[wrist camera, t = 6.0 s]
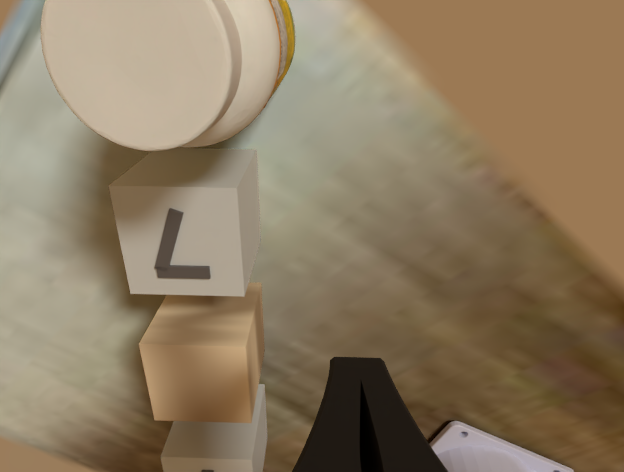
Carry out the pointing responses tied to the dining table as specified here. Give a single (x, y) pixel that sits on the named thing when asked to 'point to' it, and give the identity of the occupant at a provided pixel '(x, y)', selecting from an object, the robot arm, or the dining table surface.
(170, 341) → the plain block
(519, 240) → the dining table surface
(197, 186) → the marked block 7
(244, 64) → the supplement bottle
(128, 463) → the dining table surface
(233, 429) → the marked block 1
